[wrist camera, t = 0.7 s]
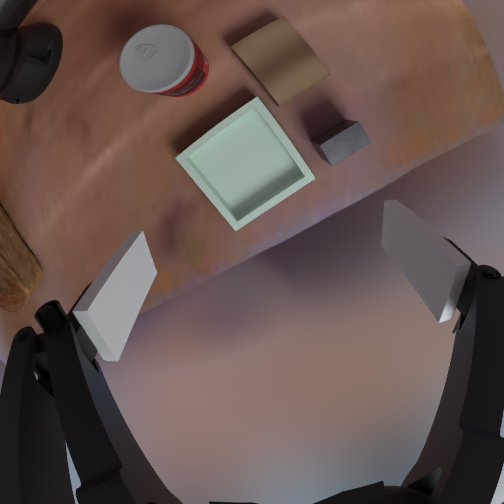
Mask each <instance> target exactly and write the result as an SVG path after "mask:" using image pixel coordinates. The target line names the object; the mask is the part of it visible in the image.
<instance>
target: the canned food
mask: <svg viewBox="0 0 504 504" xmlns="http://www.w3.org/2000/svg"><path fill="white" fill-rule="evenodd" d="M119 68H120V72H121V75H122V77H123V79H124V80H125V81H126V82H127V84H129V85H130V86H131V87H133V88H135V89H137V90H139V91H142V92H146V93H152V94H159V95H165V96H171V97H183V96H187V95H190V94H192V93H194V92H195V91H197V90H198V89H199V88H200V87H201V86H202V85H203V84H204V82H205V81H206V79H207V76H208V72H209V65H208V61H207V59H206V57H205V55H204V54H203V53H202V51H201V50H200V49H199V48H198V47H197V45H196V44H195V43H194V42H193V40H192V39H191V38H190V37H189V36H188V35H187V34H186V33H185V32H184V31H182V30H181V29H179V28H177V27H175V26H172V25H167V24H157V25H152V26H149V27H146V28H143V29H142V30H140V31H138V32H137V33H135V34H134V35H133V36H132V37H131V38H130V39H129V40H128V41H127V43H126V44H125V46H124V47H123V49H122V52H121V55H120V60H119Z"/></svg>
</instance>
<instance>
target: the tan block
mask: <svg viewBox="0 0 504 504" xmlns="http://www.w3.org/2000/svg"><path fill="white" fill-rule="evenodd" d="M231 49H232V51H233V53H234V54H235V55H236V56H237V57H238V58H239V59H240V60H241V62H242V63H243V64H244V65H245V66H246V67H247V69H248V70H249V71H250V72H251V73H252V75H253V76H254V77H255V78H256V79H257V81H258V82H259V83H260V84H261V86H262V87H263V88H264V89H265V91H266V92H267V93H268V94H269V96H270V97H271V98H272V99H273V101H274V102H275V103H276V105H277V106H280V105H282V104H283V103H285V102H286V101H288V100H290V99H291V98H293V97H294V96H296V95H298V94H299V93H301V92H302V91H304V90H306V89H307V88H309V87H311V86H312V85H314V84H316V83H318V82H319V81H321V80H323V79H325V78H326V77H328V76H330V75H331V74H330V73H329V71H328V70H327V68H326V67H325V66H324V64H323V63H322V62H321V60H320V59H319V58H318V56H317V55H316V54H315V53H314V51H313V50H312V49H311V48H310V46H309V45H308V44H307V43H306V41H305V40H304V39H303V38H302V37H301V35H300V34H299V33H298V32H297V31H296V30H295V28H294V27H293V26H292V25H291V24H290V23H289V22H288V21H287V20H286V18H285V17H284V16H283V17H281V18H279V19H277V20H275V21H273V22H271V23H269V24H268V25H266V26H264V27H262V28H260V29H259V30H257V31H255V32H253V33H252V34H250V35H248V36H247V37H245V38H244V39H242V40H240V41H239V42H237V43H236V44H234V45H232V46H231Z"/></svg>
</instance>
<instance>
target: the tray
mask: <svg viewBox="0 0 504 504" xmlns="http://www.w3.org/2000/svg"><path fill="white" fill-rule="evenodd" d="M176 160H177V161H178V162H179V163H180V164H181V166H182V167H183V168H184V169H185V170H186V172H187V173H188V174H189V175H190V177H191V178H192V179H193V180H194V181H195V183H196V184H197V185H198V186H199V187H200V189H201V190H202V191H203V192H204V193H205V195H206V196H207V197H208V198H209V199H210V201H211V202H212V203H213V204H214V205H215V207H216V208H217V209H218V210H219V212H220V213H221V214H222V215H223V216H224V218H225V219H226V220H227V221H228V222H229V224H230V225H231V226H232V227H233V228H234V230H235V231H237V230H238V229H240V228H241V227H243V226H244V225H246V224H247V223H249V222H250V221H252V220H253V219H255V218H256V217H258V216H259V215H261V214H262V213H264V212H265V211H267V210H268V209H270V208H271V207H273V206H274V205H276V204H277V203H279V202H280V201H282V200H283V199H285V198H286V197H288V196H289V195H291V194H292V193H294V192H295V191H297V190H298V189H300V188H302V187H303V186H305V185H306V184H308V183H309V182H311V181H312V180H314V179H315V177H314V176H313V174H312V172H311V171H310V169H309V168H308V166H307V165H306V163H305V162H304V160H303V159H302V157H301V156H300V154H299V153H298V151H297V150H296V149H295V147H294V146H293V144H292V143H291V141H290V140H289V139H288V137H287V136H286V134H285V133H284V131H283V130H282V129H281V127H280V126H279V125H278V123H277V122H276V120H275V119H274V118H273V116H272V115H271V114H270V112H269V111H268V110H267V108H266V107H265V106H264V105H263V103H262V102H261V101H260V99H259V98H258V97H256V98H254V99H253V100H251V101H250V102H248V103H247V104H245V105H244V106H243V107H241V108H240V109H238V110H237V111H235V112H234V113H233V114H231V115H230V116H228V117H227V118H226V119H224V120H223V121H222V122H220V123H219V124H217V125H216V126H215V127H213V128H212V129H211V130H210V131H208V132H207V133H206V134H204V135H203V136H202V137H201V138H199V139H198V140H197V141H195V142H194V143H193V144H192V145H190V146H189V147H188V148H187V149H186V150H184V151H183V152H182V153H181V154H180V155H178V156H177V157H176Z"/></svg>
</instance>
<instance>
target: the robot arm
mask: <svg viewBox="0 0 504 504" xmlns="http://www.w3.org/2000/svg"><path fill="white" fill-rule="evenodd" d="M37 1H38V0H0V100H3V101H6V102H9V103H12V104H22V103H28V102H30V101H32V100H34V99H36V98H37V97H38V96H39V95H40V94H41V93H42V92H43V91H44V90H45V89H46V87H47V86H48V85H49V83H50V82H51V80H52V78H53V76H54V74H55V72H56V70H57V68H58V65H59V62H60V58H61V54H62V46H63V42H62V35H61V32H60V31H59V29H58V28H57V27H56V26H54V25H52V24H48V23H35V24H31V25H26V26H22V27H19V25H20V24H21V22H22V21H23V20H24V18H25V17H26V15H27V14H28V13H29V11H30V10H31V9H32V7H33V6H34V5H35V3H36V2H37ZM381 246H382V247H383V248H384V250H385V251H386V252H387V253H388V255H389V256H390V257H391V258H392V260H393V261H394V262H395V263H396V265H397V266H398V267H399V268H400V270H401V271H402V272H403V274H404V275H405V276H406V277H407V279H408V280H409V282H410V283H411V284H412V285H413V287H414V288H415V290H416V291H417V292H418V294H419V295H420V296H421V298H422V299H423V301H424V302H425V303H426V305H427V306H428V308H429V309H430V311H431V312H432V314H433V315H434V317H435V318H436V319H437V321H438V322H439V323H440V322H443V321H446V320H450V319H452V317H453V315H454V312H455V310H456V307H457V309H458V310H459V311H460V313H461V314H460V316H459V318H458V321H457V323H456V325H455V328H454V330H453V333H455V331H456V336H455V342H454V347H453V353H452V358H451V362H450V367H449V371H448V375H447V379H446V383H445V387H444V390H443V394H442V397H441V401H440V404H439V407H438V410H437V413H436V416H435V419H434V422H433V425H432V427H431V430H430V433H429V435H428V438H427V441H426V443H425V446H424V448H423V450H422V452H421V455H420V457H419V459H418V461H417V463H416V464H415V465H414V467H413V468H412V469H411V471H410V472H409V473H408V475H407V476H406V478H405V480H404V482H403V483H402V485H401V486H384V483H383V481H380V482H377V483H374V484H370V485H367V486H363V487H360V488H356V489H352V490H347V491H343V492H341V493H338V494H336V495H334V496H331V497H329V498H327V499H324V500H322V501H319V502H316V503H314V504H490V503H491V501H492V498H493V495H494V492H495V490H496V487H497V484H498V481H499V477H500V474H501V471H502V467H503V464H504V438H503V437H501V436H500V428H501V423H502V417H503V410H504V277H502V276H501V274H500V273H499V272H498V270H496V269H495V268H493V267H491V266H488V265H480V266H478V265H477V264H476V263H475V262H474V261H473V260H472V259H471V258H470V257H468V255H466V254H465V253H464V252H463V251H462V250H461V249H460V248H458V246H457V245H455V244H454V243H453V242H452V241H451V240H449V239H447V238H445V237H443V236H441V235H440V234H439V233H437V231H435V230H434V229H433V228H432V227H430V226H429V225H428V224H427V223H426V222H424V221H423V220H422V219H421V218H419V217H418V216H417V215H416V214H414V213H413V212H412V211H410V210H409V209H408V208H407V207H405V206H404V205H402V204H401V203H400V202H399V201H397V200H386V201H385V202H384V218H383V230H382V241H381ZM156 274H157V271H156V268H155V266H154V263H153V260H152V257H151V254H150V251H149V248H148V245H147V242H146V239H145V236H144V233H143V231H137V232H131V233H130V234H129V236H128V237H127V238H126V239H125V240H124V242H123V243H122V244H121V245H120V247H119V248H118V249H117V250H116V252H115V253H114V254H113V256H112V257H111V258H110V259H109V261H108V262H107V263H106V265H105V266H104V267H103V269H102V270H101V271H100V273H99V274H98V275H97V277H96V278H95V280H94V281H92V282H91V283H90V284H89V285H88V286H87V287H86V288H85V290H84V291H83V292H82V295H80V297H79V298H78V300H77V301H76V302H75V304H74V305H73V307H72V308H71V310H70V311H69V313H68V314H67V315H66V313H65V312H64V310H63V308H62V306H61V305H60V303H59V301H57V300H52V301H49V302H47V303H45V304H44V305H42V306H41V307H40V308H39V309H38V310H37V312H36V313H35V317H34V318H35V319H36V321H37V322H38V324H39V325H40V327H41V328H42V330H43V331H44V333H41V334H36V332H35V331H34V329H33V328H32V327H30V326H28V327H24V328H22V329H20V330H19V331H18V332H17V334H16V335H15V337H14V339H13V342H12V345H11V349H10V353H9V356H8V360H7V364H6V369H5V373H4V377H3V383H2V388H1V393H0V504H75V500H74V495H73V491H72V486H71V480H70V474H69V468H68V461H67V452H66V443H67V446H68V449H69V452H70V455H71V458H72V461H73V463H74V466H75V469H76V471H77V474H78V476H79V478H80V481H81V486H80V487H79V488H77V489H76V497H77V501H78V503H79V504H182V502H181V501H180V500H179V499H178V498H176V497H175V496H174V495H173V494H172V493H171V492H170V491H169V490H168V489H167V488H166V487H165V485H164V484H163V482H162V481H161V480H160V478H159V477H158V475H157V474H156V472H155V471H154V469H153V468H152V466H151V465H150V463H149V462H148V460H147V459H146V457H145V455H144V454H143V452H142V450H141V449H140V447H139V445H138V444H137V442H136V440H135V439H134V437H133V435H132V433H131V432H130V430H129V428H128V426H127V424H126V422H125V420H124V418H123V416H122V414H121V413H120V410H119V408H118V406H117V404H116V402H115V400H114V398H113V396H112V394H111V392H110V390H109V387H108V385H107V382H106V380H105V378H104V376H103V373H102V371H101V368H100V366H99V363H98V362H97V360H96V359H95V356H96V353H97V351H98V352H99V354H100V355H101V357H102V358H103V359H104V360H107V361H119V358H120V356H121V353H122V351H123V348H124V346H125V343H126V341H127V339H128V336H129V334H130V331H131V329H132V327H133V324H134V322H135V320H136V318H137V315H138V313H139V311H140V308H141V306H142V304H143V302H144V300H145V297H146V295H147V293H148V291H149V289H150V287H151V285H152V282H153V280H154V278H155V276H156ZM34 372H35V373H36V374H37V375H38V381H37V380H36V378H35V375H34ZM65 440H66V442H65ZM209 504H257V503H252V502H251V503H234V502H232V503H231V502H209ZM501 504H504V502H502V503H501Z"/></svg>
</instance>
